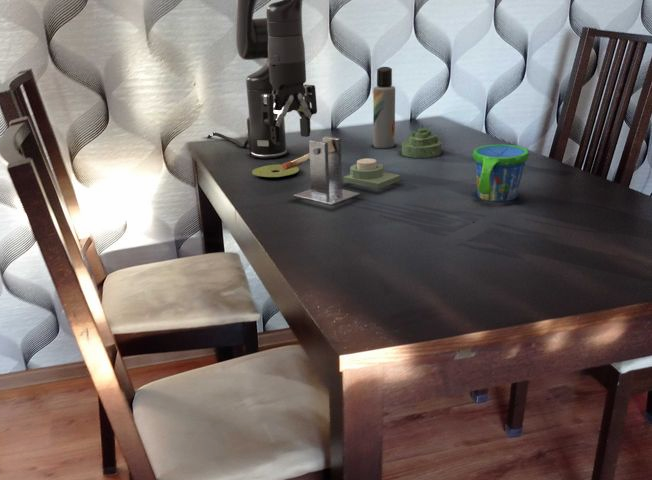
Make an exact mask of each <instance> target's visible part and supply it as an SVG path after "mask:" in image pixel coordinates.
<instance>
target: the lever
mask: <svg viewBox="0 0 652 480" xmlns="http://www.w3.org/2000/svg"><path fill="white" fill-rule="evenodd" d="M325 142H328V154H330V153H332V152H334V151H335V149H334V146H333V143H332V140H328V141H325ZM308 160H310V152H308V153H307V154H304V155H302V156H301V157H299V158H296V159H292V160H290V161H287V162H283V163H282V168H283V169H284V170H287V169H290V168H293V167H300V166H302V165H303V163H304V162H306V161H308Z"/></svg>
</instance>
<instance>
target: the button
mask: <svg viewBox="0 0 652 480" xmlns="http://www.w3.org/2000/svg"><path fill="white" fill-rule="evenodd" d="M356 164H357V169H360V170H372V169H376V168H377V164H378V162H377V159H375V158H360V159H358V160H356Z"/></svg>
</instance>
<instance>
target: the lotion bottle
mask: <svg viewBox="0 0 652 480" xmlns="http://www.w3.org/2000/svg"><path fill="white" fill-rule="evenodd" d="M372 90H373V94H372V95H373V98H372V99H373V118H372V120H373V123H372V124H373V125H372V126H373V127H372V128H373V130H372V131H373V132H372V133H373V134H372V135H373V140H372V141H373V147H374V148H376V149H390V148H393V147H395V142H396V141H395V138H396V133H395V132H396V86H394V85H393V68H391V67H390V66H380V67H378V68H377V69H376V86H374V87H373V89H372Z"/></svg>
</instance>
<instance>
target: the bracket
mask: <svg viewBox="0 0 652 480" xmlns="http://www.w3.org/2000/svg"><path fill="white" fill-rule="evenodd" d="M328 140H332V143H333V146H334V149H335V151H334V152H332V153H330V154H328V142H325V141H328ZM308 149H309V152H308V153H310V159H309V170H310V171H309V172H310V173H309V174H310V189H307V190H304V191H301V192H299V193H296V194H294V195H293V197H294V198H298V199H302V200H304V201H305V200H306V201H310V202H313V203H318V204H324V205H327V206H331V207H332V206H335V205H338V204H341V203H343V202H346V201H348V200H351V199H354V198H356V197H359V196H361V193H360V192H356V191H352V190H347V189H343V169H342V167H343V165H342V164H343V163H342V138H339V137H333V136H327V135H324V136H322V137H321V140H315V139H310V140H308Z"/></svg>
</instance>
